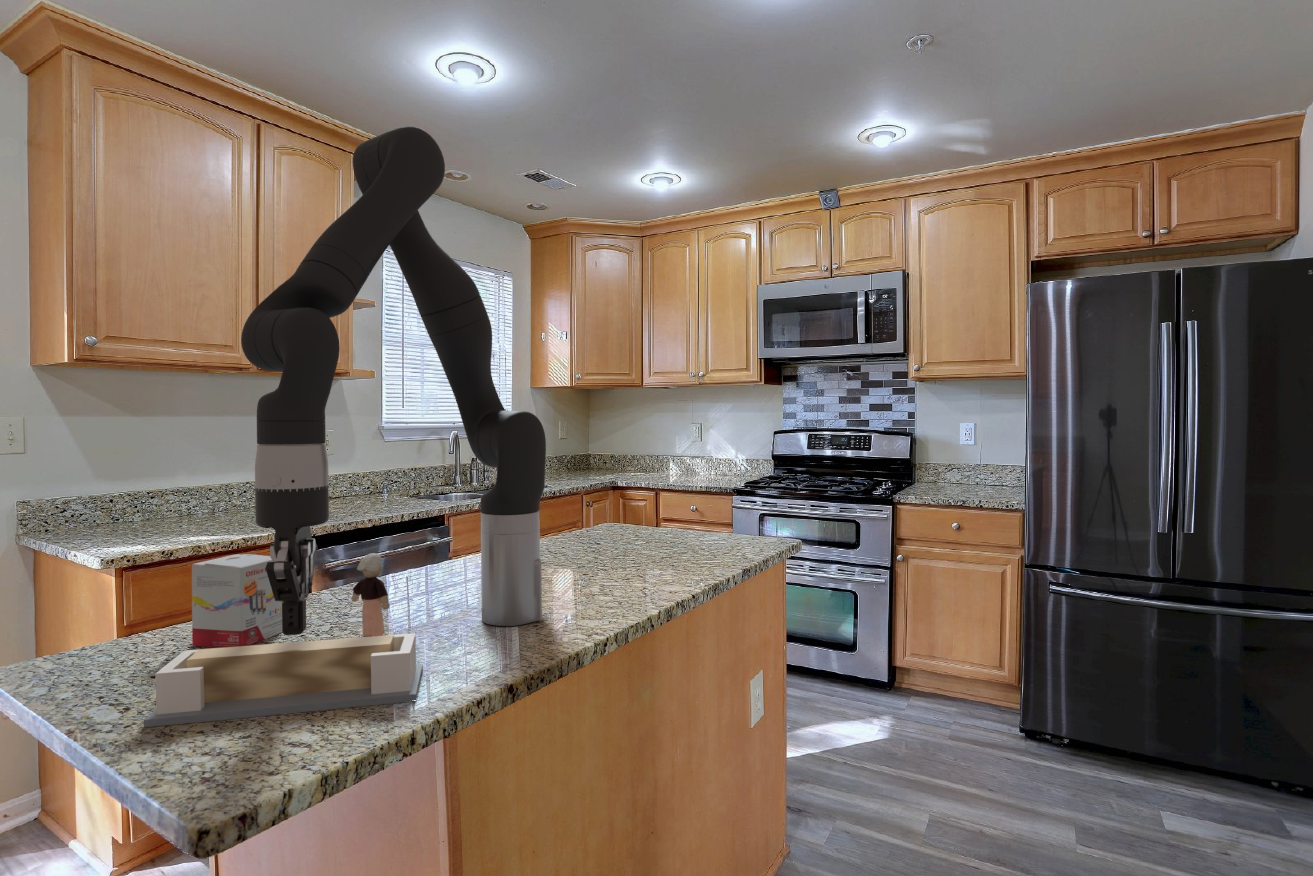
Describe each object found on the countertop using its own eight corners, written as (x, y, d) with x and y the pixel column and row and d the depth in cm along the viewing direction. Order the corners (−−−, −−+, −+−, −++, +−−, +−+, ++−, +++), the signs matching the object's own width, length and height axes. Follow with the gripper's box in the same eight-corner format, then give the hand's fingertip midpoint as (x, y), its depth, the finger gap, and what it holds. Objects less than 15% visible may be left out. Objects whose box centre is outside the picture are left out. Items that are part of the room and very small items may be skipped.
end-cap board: (422, 670, 90) (422, 630, 90) (415, 701, 80) (415, 655, 80) (182, 691, 83) (181, 647, 83) (143, 727, 73) (142, 678, 73)
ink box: (242, 650, 98) (240, 565, 97) (190, 646, 100) (188, 563, 99) (286, 631, 106) (285, 553, 106) (237, 628, 108) (236, 551, 108)
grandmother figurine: (403, 639, 102) (402, 552, 102) (385, 647, 99) (383, 557, 98) (360, 634, 105) (359, 549, 104) (341, 641, 101) (339, 554, 101)
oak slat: (394, 675, 86) (393, 635, 86) (390, 686, 82) (390, 643, 82) (200, 692, 81) (199, 649, 80) (188, 704, 77) (186, 659, 77)
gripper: (314, 488, 75) (316, 648, 76) (339, 478, 88) (340, 615, 89) (236, 489, 73) (239, 654, 74) (273, 479, 86) (275, 619, 87)
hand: (294, 632), depth 81 cm, fingers closed
